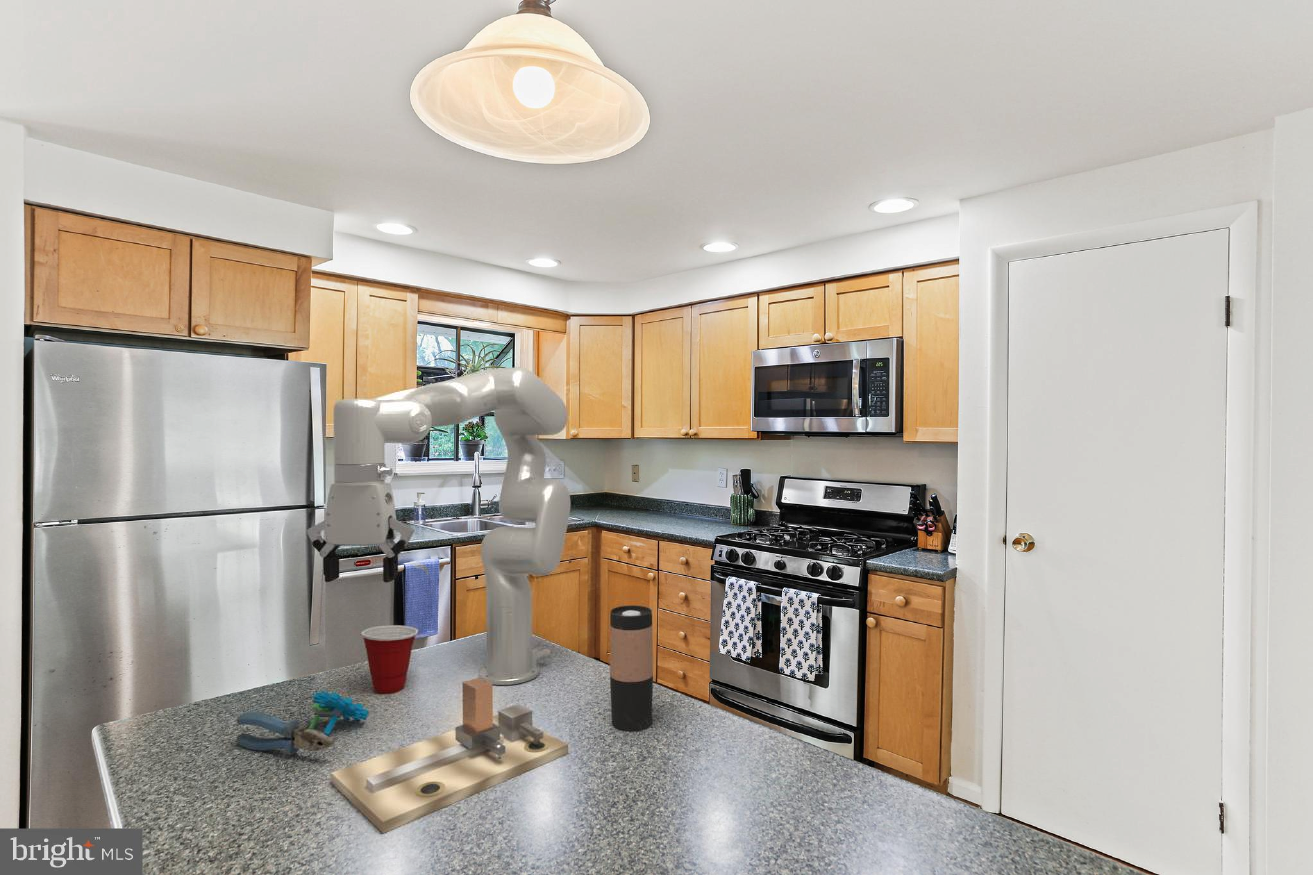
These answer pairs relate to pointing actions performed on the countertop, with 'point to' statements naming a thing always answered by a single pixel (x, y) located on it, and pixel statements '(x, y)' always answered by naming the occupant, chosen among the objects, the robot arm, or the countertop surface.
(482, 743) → the block
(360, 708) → the gear
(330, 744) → the pliers
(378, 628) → the plastic cup
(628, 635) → the travel mug
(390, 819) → the wooden slide jig
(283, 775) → the countertop surface
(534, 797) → the countertop surface
